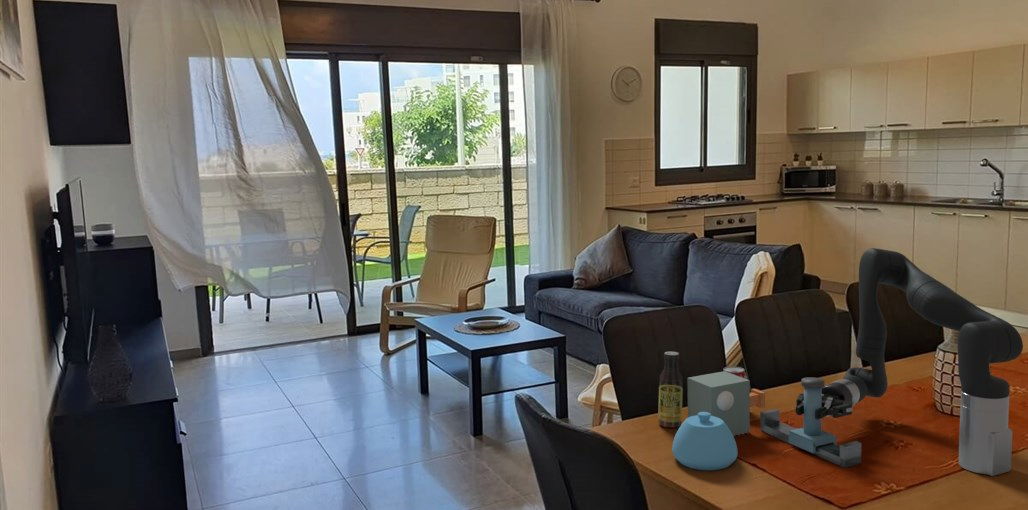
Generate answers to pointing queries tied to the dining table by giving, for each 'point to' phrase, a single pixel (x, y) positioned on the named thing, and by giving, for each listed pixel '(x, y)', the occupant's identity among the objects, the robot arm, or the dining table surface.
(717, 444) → the sugar bowl
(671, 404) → the sauce bottle
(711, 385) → the cabinet
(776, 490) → the dining table surface
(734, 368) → the soda can
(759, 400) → the plunger
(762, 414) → the rail
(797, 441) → the carriage
